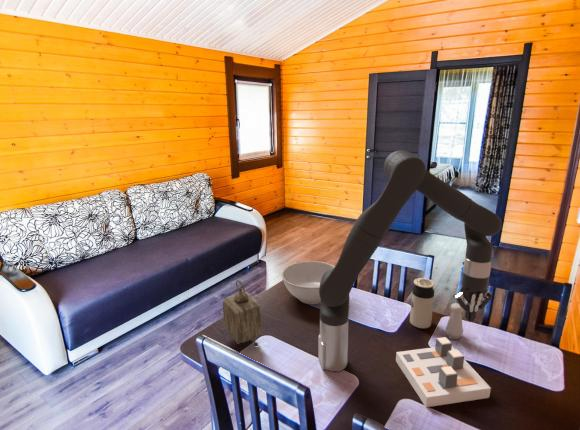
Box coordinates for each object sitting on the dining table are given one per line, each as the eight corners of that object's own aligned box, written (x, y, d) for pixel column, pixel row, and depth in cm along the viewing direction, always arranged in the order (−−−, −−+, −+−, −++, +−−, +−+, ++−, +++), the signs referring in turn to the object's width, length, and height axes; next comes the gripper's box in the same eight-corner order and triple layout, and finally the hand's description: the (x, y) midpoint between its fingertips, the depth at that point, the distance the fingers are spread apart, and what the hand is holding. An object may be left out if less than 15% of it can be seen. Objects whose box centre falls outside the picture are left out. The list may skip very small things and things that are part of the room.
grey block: (445, 388, 104) (446, 375, 103) (438, 379, 107) (439, 366, 106) (456, 386, 105) (457, 373, 103) (449, 378, 108) (450, 365, 106)
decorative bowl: (311, 278, 182) (311, 256, 178) (353, 297, 163) (354, 273, 159) (270, 297, 164) (269, 273, 161) (312, 321, 145) (312, 294, 142)
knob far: (440, 356, 117) (442, 344, 116) (435, 349, 121) (436, 337, 119) (450, 355, 118) (452, 343, 116) (444, 348, 121) (446, 336, 120)
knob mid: (452, 370, 111) (453, 357, 110) (445, 362, 114) (447, 350, 113) (462, 368, 112) (464, 356, 110) (456, 361, 115) (457, 349, 114)
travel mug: (431, 320, 144) (435, 279, 139) (430, 330, 137) (434, 288, 132) (411, 315, 147) (414, 276, 142) (408, 326, 140) (411, 284, 135)
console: (425, 407, 103) (426, 396, 102) (395, 360, 122) (396, 351, 120) (489, 397, 105) (490, 387, 104) (450, 353, 124) (451, 344, 123)
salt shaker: (463, 341, 131) (467, 310, 127) (447, 339, 132) (450, 308, 128) (459, 332, 136) (463, 301, 132) (443, 330, 137) (447, 300, 133)
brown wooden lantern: (263, 348, 130) (259, 286, 123) (240, 357, 125) (235, 293, 118) (246, 328, 142) (242, 270, 134) (224, 336, 137) (219, 277, 130)
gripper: (464, 279, 108) (458, 329, 112) (503, 275, 109) (496, 324, 114) (449, 268, 115) (444, 316, 120) (487, 264, 116) (480, 311, 121)
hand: (469, 320), depth 117 cm, fingers closed
